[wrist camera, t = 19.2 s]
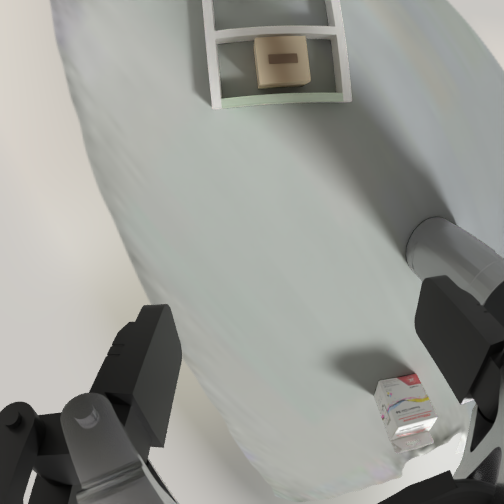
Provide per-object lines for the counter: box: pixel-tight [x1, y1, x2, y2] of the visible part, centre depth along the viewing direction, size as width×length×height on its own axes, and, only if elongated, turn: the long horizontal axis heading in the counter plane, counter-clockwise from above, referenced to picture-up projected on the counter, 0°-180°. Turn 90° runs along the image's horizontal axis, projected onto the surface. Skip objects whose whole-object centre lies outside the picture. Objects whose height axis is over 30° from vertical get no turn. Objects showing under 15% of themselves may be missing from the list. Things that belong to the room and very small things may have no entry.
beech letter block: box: [254, 36, 311, 89], centre depth 28 cm, size 5×5×5 cm
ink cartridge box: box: [374, 374, 438, 453], centre depth 44 cm, size 9×5×15 cm, turn 92°
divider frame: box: [202, 0, 352, 110], centre depth 25 cm, size 15×25×2 cm, turn 5°
